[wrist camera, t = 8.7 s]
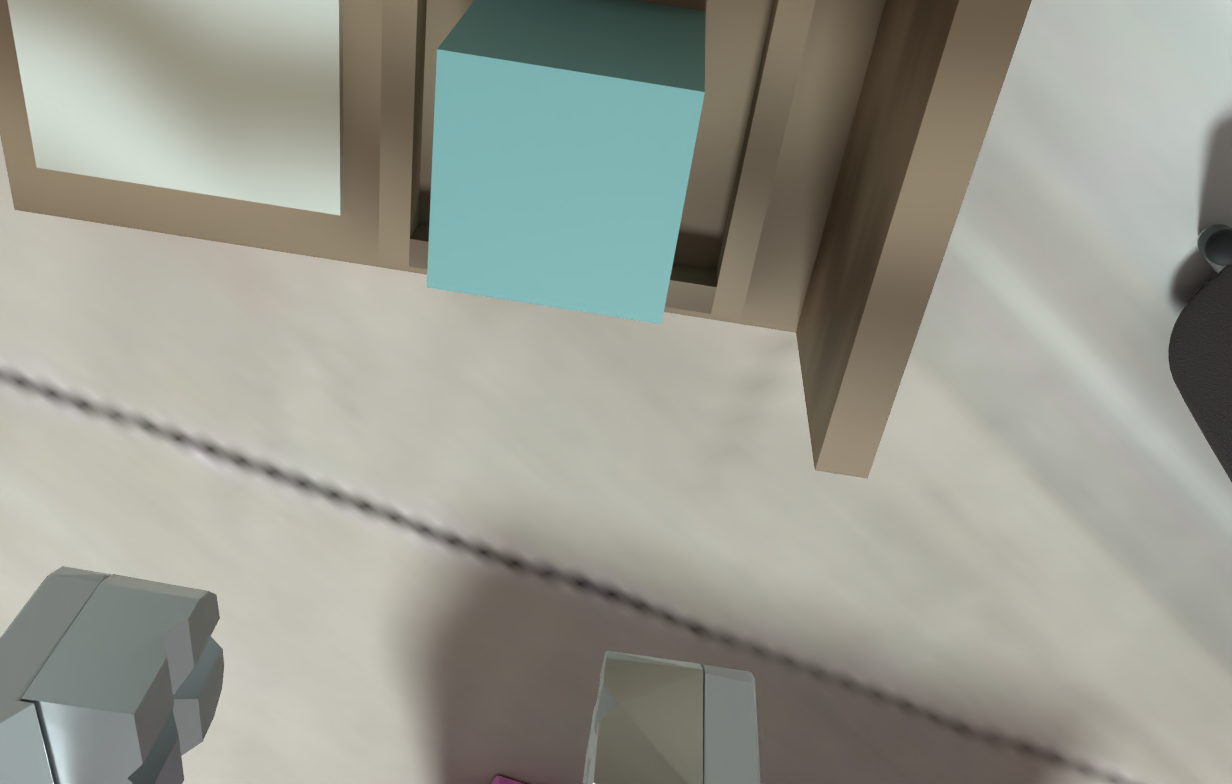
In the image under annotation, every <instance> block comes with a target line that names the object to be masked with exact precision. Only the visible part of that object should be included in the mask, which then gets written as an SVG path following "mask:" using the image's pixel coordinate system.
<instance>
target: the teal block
mask: <svg viewBox="0 0 1232 784" xmlns="http://www.w3.org/2000/svg"><path fill="white" fill-rule="evenodd" d="M705 27H706V11H699V10H693V9H687V8H681V7H675V6H668V5H662V4H656V3H650V2H644V1H637V0H474V2H473V3H472V4H471V6H470V7H469V8H468V10H467V11H466V12H465V13H464V15H463V16H462V17H461V19H460V20H459V21H458V23H457V24H456V25H455V26H454V28H453V29H452V30H451V32H450V33H449V34H448V36H447V37H446V38H445V40H444V41H443V42H442V43H441V45H440V46H439V47H438V49H437V62H436V85H435V108H434V131H433V154H432V177H431V200H430V223H429V246H428V268H427V287H428V288H435V289H441V290H447V291H454V292H460V293H467V294H473V295H479V296H486V297H492V298H498V299H505V300H511V301H517V302H524V303H530V304H537V305H543V306H549V307H556V308H562V309H568V310H575V311H581V312H587V313H594V314H600V315H607V316H613V317H619V318H626V319H632V320H638V321H645V322H651V323H658V324H662V319H663V314H664V308H665V303H666V297H667V292H668V287H669V281H670V276H671V271H672V265H673V260H674V255H675V249H676V244H677V239H678V233H679V228H680V223H681V217H682V212H683V206H684V201H685V196H686V190H687V185H688V180H689V174H690V169H691V164H692V158H693V153H694V148H695V142H696V137H697V132H698V126H699V121H700V115H701V110H702V105H703V99H704V94H705Z"/></svg>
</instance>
